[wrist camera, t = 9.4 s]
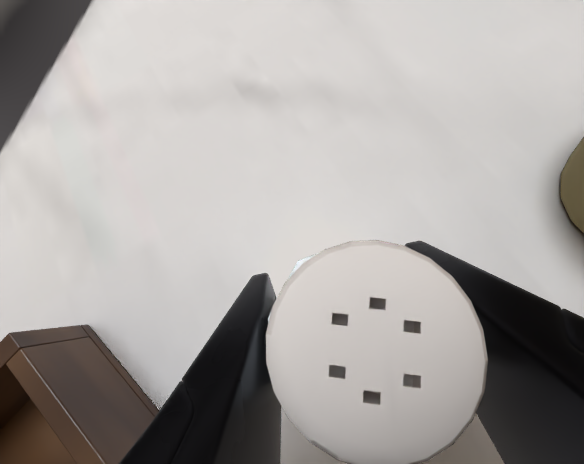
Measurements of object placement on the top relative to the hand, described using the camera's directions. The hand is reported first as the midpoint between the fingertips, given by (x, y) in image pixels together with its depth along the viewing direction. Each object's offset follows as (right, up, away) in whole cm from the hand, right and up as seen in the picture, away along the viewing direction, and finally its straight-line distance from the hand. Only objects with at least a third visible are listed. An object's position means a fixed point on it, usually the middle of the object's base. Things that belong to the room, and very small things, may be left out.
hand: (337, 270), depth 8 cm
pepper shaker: (+1, -3, +6) cm, 7 cm away
